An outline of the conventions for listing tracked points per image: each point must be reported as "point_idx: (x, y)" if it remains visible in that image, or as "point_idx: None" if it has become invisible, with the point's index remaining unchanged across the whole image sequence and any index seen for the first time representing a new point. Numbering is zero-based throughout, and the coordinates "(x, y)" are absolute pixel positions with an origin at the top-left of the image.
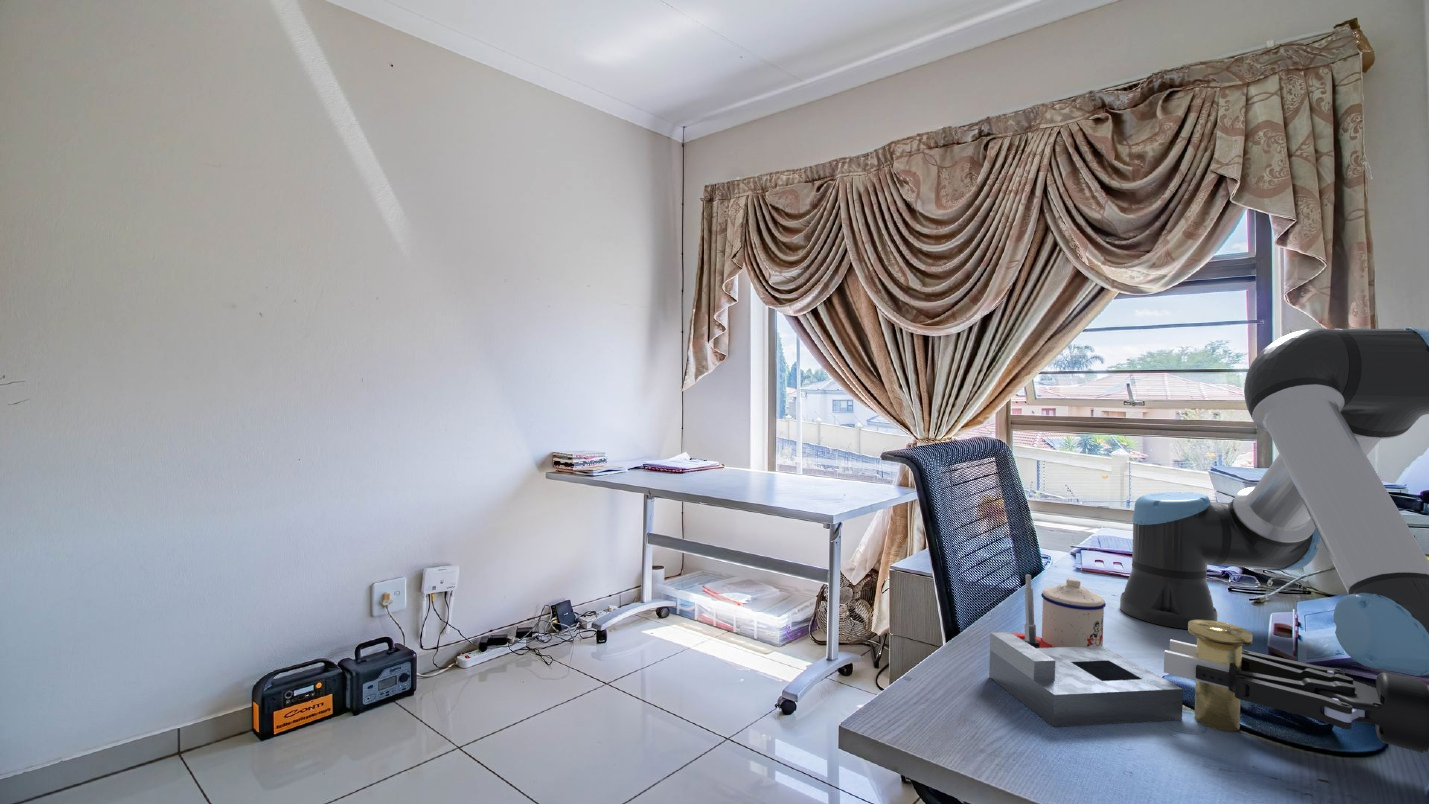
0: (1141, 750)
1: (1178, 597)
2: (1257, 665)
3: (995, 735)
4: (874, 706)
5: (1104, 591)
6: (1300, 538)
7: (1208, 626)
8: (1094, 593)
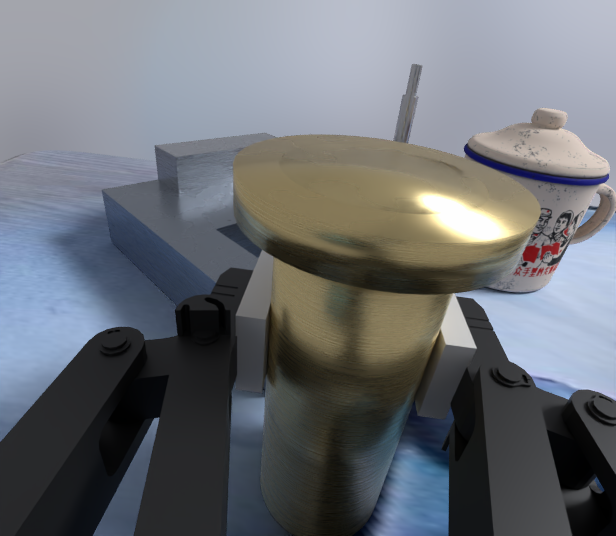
0: (51, 324)
1: None
2: (474, 462)
3: (57, 206)
4: (104, 155)
5: None
6: None
7: (374, 157)
8: (594, 159)
